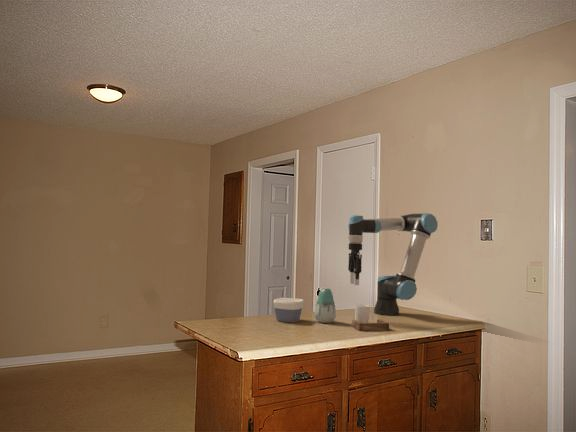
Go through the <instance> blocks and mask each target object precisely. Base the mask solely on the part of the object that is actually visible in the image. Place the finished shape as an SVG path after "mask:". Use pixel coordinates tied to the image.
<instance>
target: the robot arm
mask: <svg viewBox="0 0 576 432" xmlns="http://www.w3.org/2000/svg"><path fill="white" fill-rule="evenodd" d="M438 226H439V225H438V219H437V218H436V216H435V215H434V214H432V213H429V212H423V213H409V214H404V215H403V214H402V215H397V216H396V217H385V218H382V217H381V218H369V219H368V218H367V219H365V218H364V216H363V215H357V214H356V215H350V216H349V221H348V237H347V238H348V250H350V253H349V252H348V266H347V267H348V268H347V269H348V271H349V285H354V286H359V285H360V274H361V273H362V258H363V254H361V253H360V251H362V250H363V244H362V243H363V233H367V234H368V233H369V234H378V233H380V232H383V231H385V232H386V231H398V232H409V233H410V234H411V238H410V240H409V243H408V246H407V249H406V252H405V256H404V258H403V261H402V264H401V267H400V271H399V272H397V273H396V274H395V275H380V276H378V277H377V291H376V292H377V293H376V296H377V298H376V299H377V300H376V302H375V305H374V308H373V313H374V314H377V315H380V316H381V315H382V316H399V314H400V308H399V305H398V302H397V299H399V300H401V301H408V300H411V299H413V298H414V297H415V296H416V294H417V292H418V291H417V289H418V287H417V284H416V281H417V280H416V278H415V275H416V272H417V269H418V266H419V263H420V259H421V256H422V253H423V250H424V247H425V245H426V242H427V240H428V239H430V238H431V234H433V233H434V232H436V231H437V230H438Z"/></svg>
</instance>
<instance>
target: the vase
mask: <svg viewBox="0 0 576 432" xmlns="http://www.w3.org/2000/svg"><path fill="white" fill-rule="evenodd" d="M336 316H337V310H336V305H335V300H334V296H333V292H332V289H330V288H322V289H321V290H320V291H319V293H318V296H317V301H316V303H315V308H314V318H315V319H316V320H315V321H317V322H318V323H322V324H330V323H333V322H334V321H335V319H336Z"/></svg>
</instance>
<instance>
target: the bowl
mask: <svg viewBox="0 0 576 432" xmlns="http://www.w3.org/2000/svg"><path fill="white" fill-rule="evenodd" d="M272 303H273V307H274V313H275V318H276V321H277V322H283V323H296V322H297V323H298V321H300V319H301V318H300V317H301V316H302V315H301V314H302V311H303V307H304V303H305V301H304V299H301V298H294V297H293V298H292V297H279V298H276V299H274V300H273V302H272Z"/></svg>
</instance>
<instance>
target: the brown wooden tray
mask: <svg viewBox="0 0 576 432" xmlns="http://www.w3.org/2000/svg"><path fill="white" fill-rule="evenodd" d="M351 327H352V328H353V329H356V330H358V331H359V332H361V331H362V332H364V331H365V332H368V331H371V332H373V331H375V330H377V331H390V323H389V322H388V321H385V320H382V319H377V320H376V322H368V323H361V322H359V321H357V320H356V319H352V322H351Z"/></svg>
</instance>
